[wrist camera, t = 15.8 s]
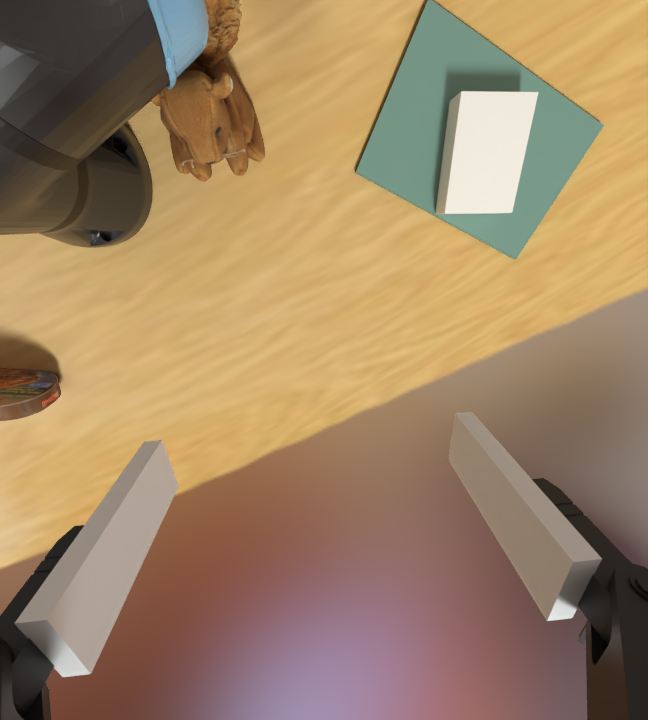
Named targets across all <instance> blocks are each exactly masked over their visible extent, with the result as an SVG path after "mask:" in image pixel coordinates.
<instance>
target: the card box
mask: <svg viewBox="0 0 648 720" xmlns="http://www.w3.org/2000/svg"><path fill="white" fill-rule="evenodd" d="M537 97H538V92H486V91H461V92H460V93H459V94H458V95H456V96H455V97H454V98H453V99H452V100H450V102H449V110H448V118H447V126H446V134H445V142H444V150H443V158H442V166H441V174H440V182H439V190H438V198H437V206H436V214H495V213H512V211H513V207H514V202H515V197H516V193H517V188H518V184H519V179H520V175H521V170H522V166H523V161H524V156H525V152H526V147H527V143H528V138H529V134H530V129H531V124H532V120H533V115H534V111H535V106H536V102H537Z"/></svg>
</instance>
